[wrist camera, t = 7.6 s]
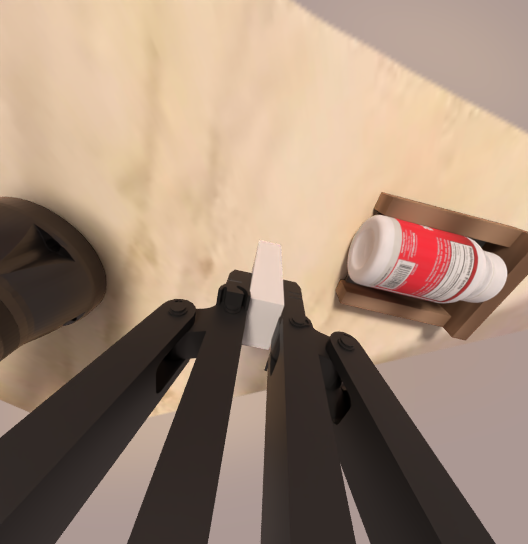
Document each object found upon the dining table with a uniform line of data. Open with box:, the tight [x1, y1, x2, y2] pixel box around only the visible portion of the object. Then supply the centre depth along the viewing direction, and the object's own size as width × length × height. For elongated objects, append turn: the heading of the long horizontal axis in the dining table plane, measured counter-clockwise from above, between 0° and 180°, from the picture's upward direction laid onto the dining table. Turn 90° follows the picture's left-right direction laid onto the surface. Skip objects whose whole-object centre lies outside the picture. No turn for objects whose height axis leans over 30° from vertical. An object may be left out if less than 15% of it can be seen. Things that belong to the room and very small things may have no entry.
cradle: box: [336, 192, 528, 340], centre depth 22 cm, size 13×11×4 cm
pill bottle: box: [347, 215, 507, 303], centre depth 20 cm, size 6×6×11 cm
